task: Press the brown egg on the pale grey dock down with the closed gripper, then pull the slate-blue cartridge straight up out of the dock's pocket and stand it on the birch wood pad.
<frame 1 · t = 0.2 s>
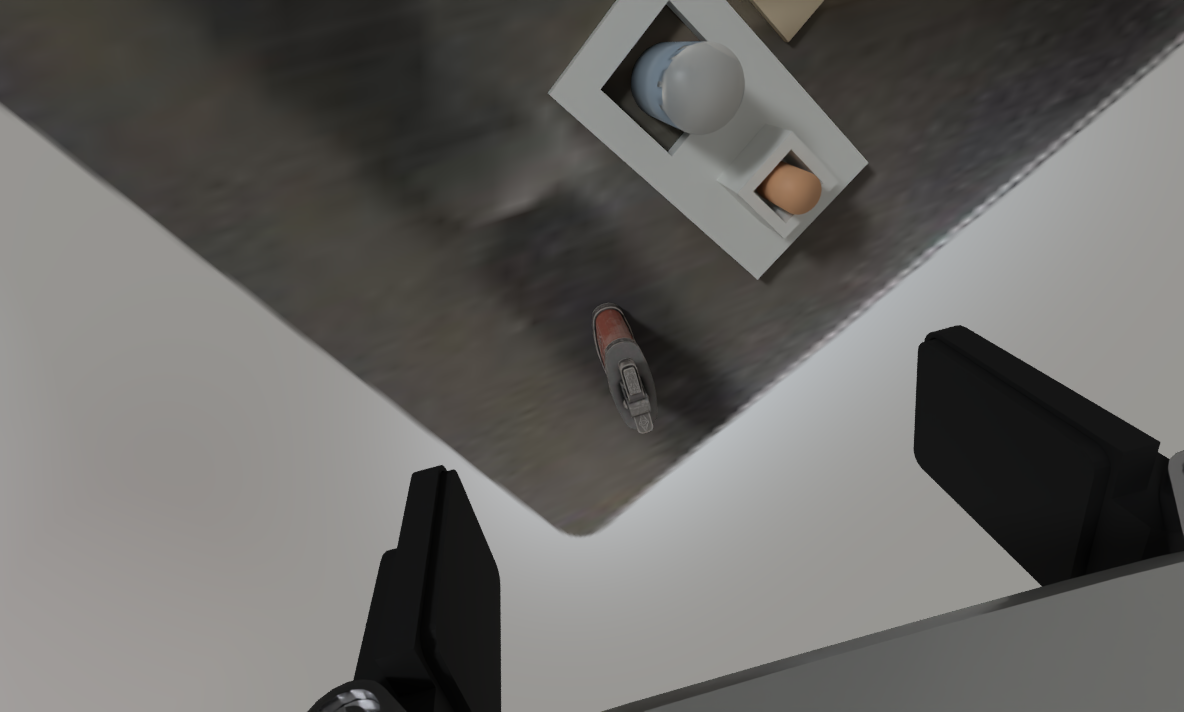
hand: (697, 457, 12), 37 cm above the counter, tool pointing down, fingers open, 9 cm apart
brown egg: (786, 186, 42), point 6 cm above the counter, slide at 0.0 cm
lighter: (614, 343, 52), on the counter
cartridge: (665, 81, 43), resting in dock
dock: (665, 81, 43), on the counter
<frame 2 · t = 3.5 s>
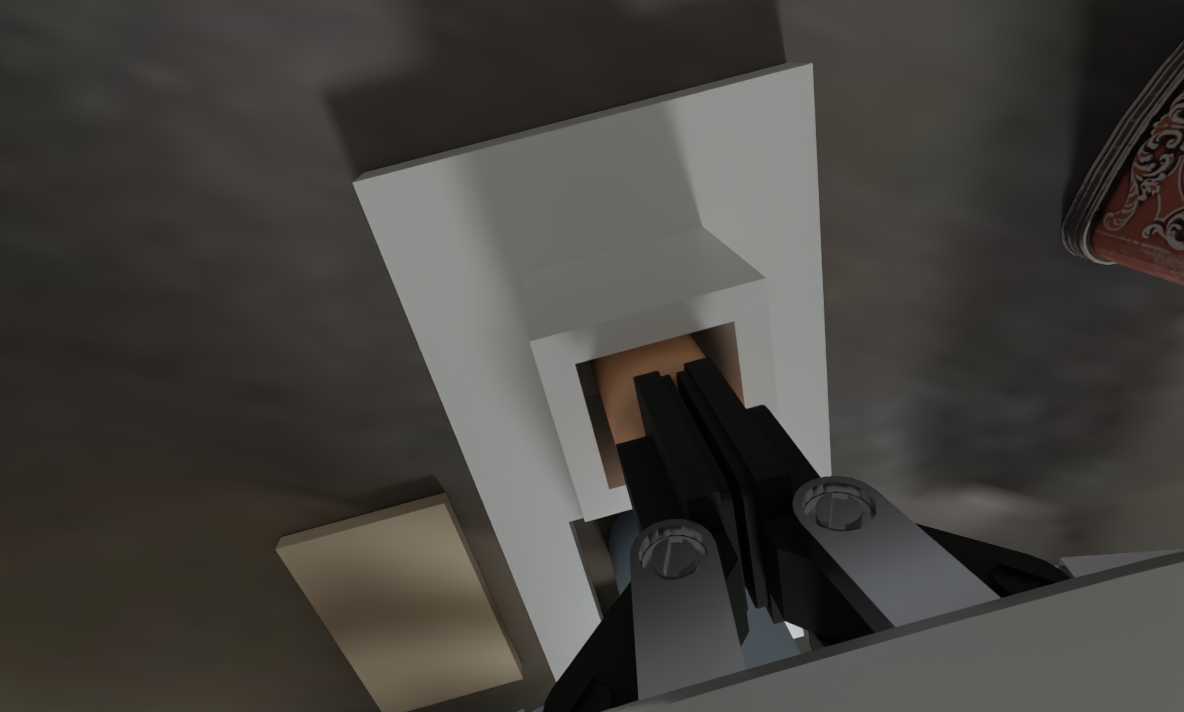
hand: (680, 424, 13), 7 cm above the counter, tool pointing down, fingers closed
brown egg: (655, 383, 15), point 5 cm above the counter, slide at 1.1 cm, touching gripper
lighter: (1150, 138, 19), on the counter
cartridge: (670, 536, 24), resting in dock
pad: (413, 608, 24), on the counter
dock: (670, 536, 24), on the counter
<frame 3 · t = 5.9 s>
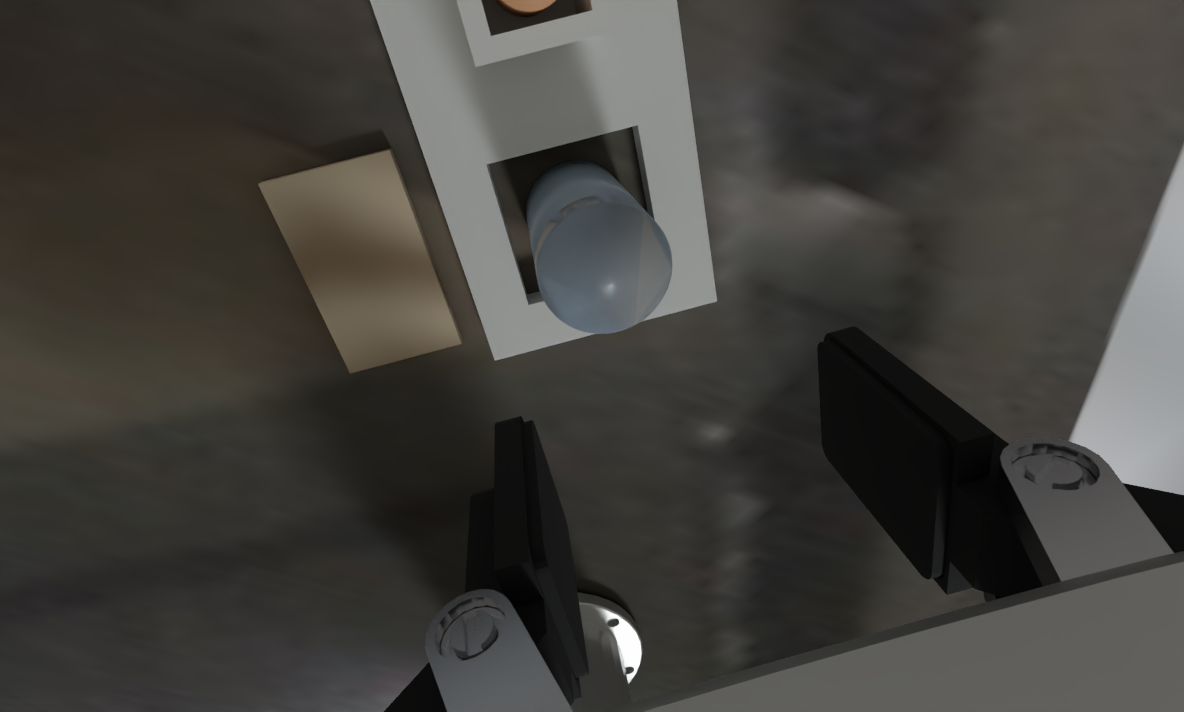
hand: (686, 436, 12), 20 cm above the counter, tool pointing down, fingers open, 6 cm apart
cartridge: (576, 212, 30), resting in dock
pad: (370, 266, 29), on the counter
dock: (576, 212, 30), on the counter
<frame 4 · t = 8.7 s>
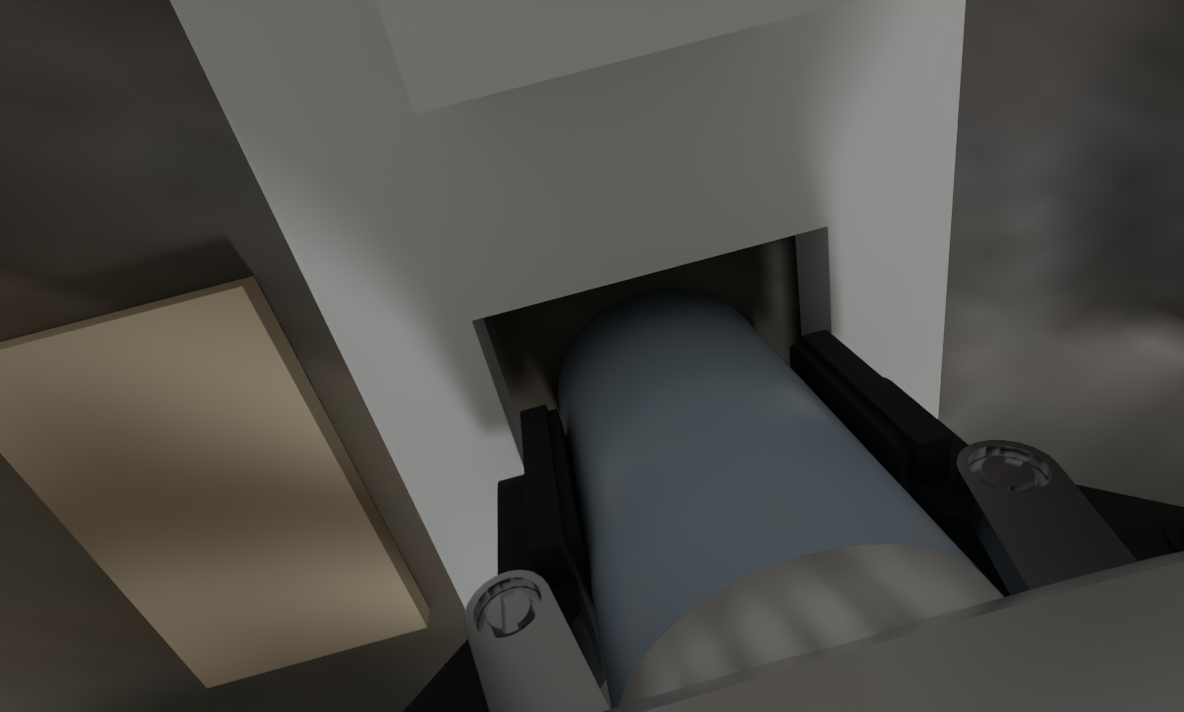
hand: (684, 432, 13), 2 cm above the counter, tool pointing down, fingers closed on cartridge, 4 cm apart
cartridge: (661, 386, 14), resting in dock, touching gripper
pad: (232, 503, 14), on the counter
dock: (661, 387, 14), on the counter
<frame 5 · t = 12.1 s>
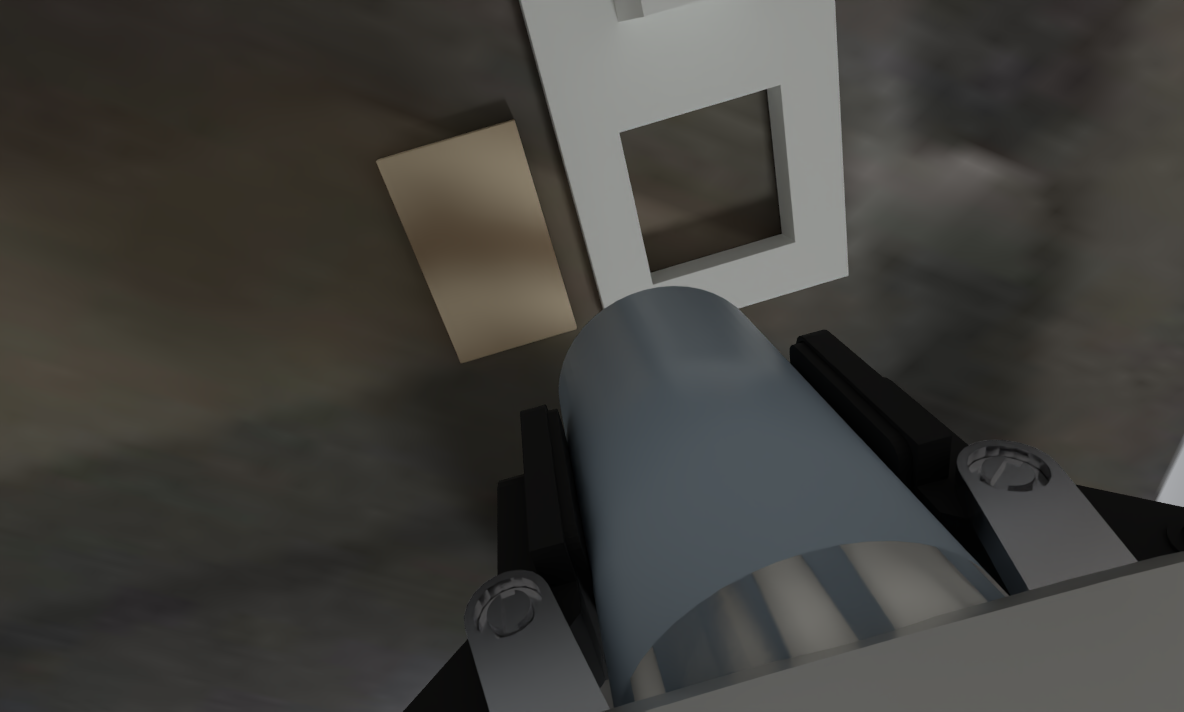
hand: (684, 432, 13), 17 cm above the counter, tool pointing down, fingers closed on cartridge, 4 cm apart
cartridge: (662, 384, 14), point 15 cm above the counter, touching gripper
pad: (485, 248, 28), on the counter
dock: (702, 184, 28), on the counter
when the fingers open (4 cm above the counter, at t = 15.5 s): cartridge drops 1 cm, resting on pad.
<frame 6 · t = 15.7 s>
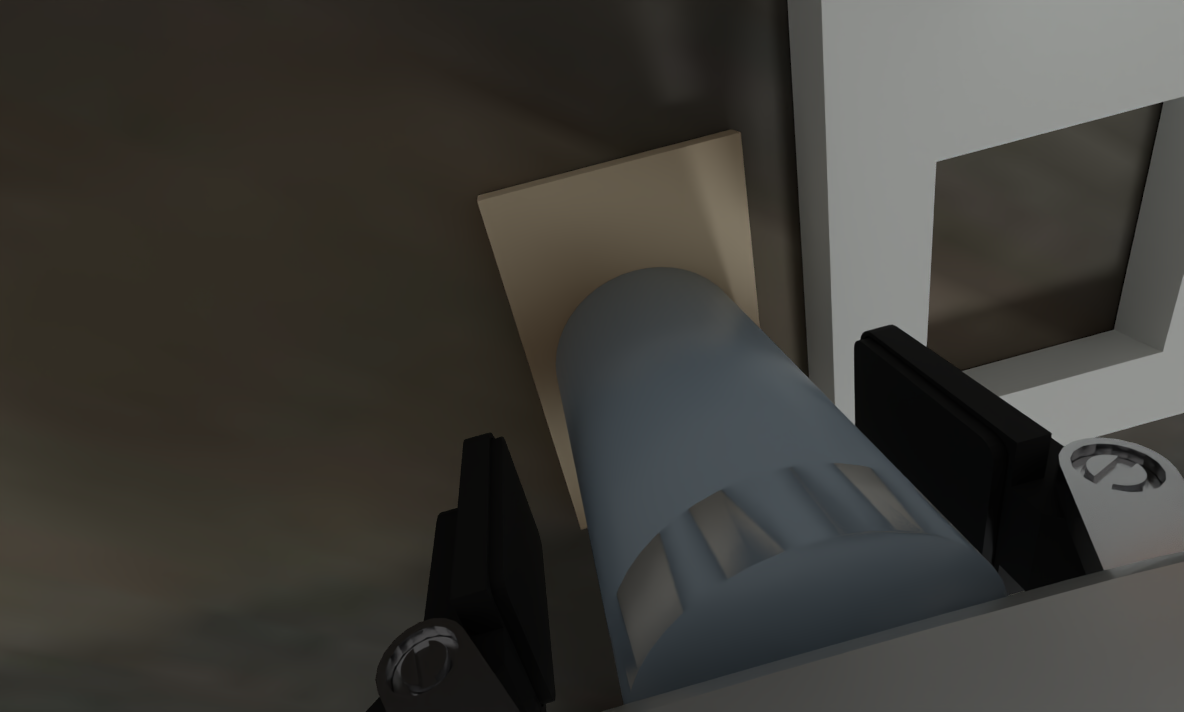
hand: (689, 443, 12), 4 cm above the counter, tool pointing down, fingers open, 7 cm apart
cartridge: (651, 359, 15), point 1 cm above the counter, touching pad
pad: (644, 350, 16), on the counter
dock: (1016, 250, 16), on the counter
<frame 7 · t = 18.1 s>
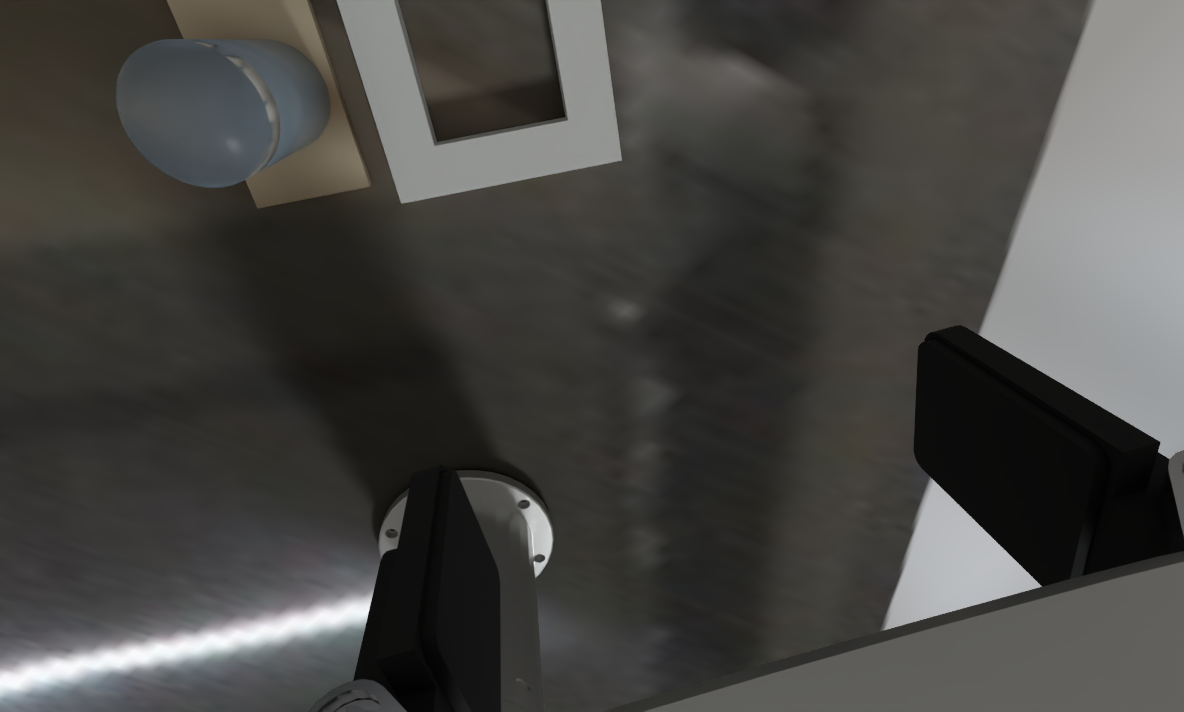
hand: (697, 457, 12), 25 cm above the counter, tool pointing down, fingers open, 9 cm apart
cartridge: (276, 96, 29), point 1 cm above the counter, touching pad
pad: (279, 96, 30), on the counter
dock: (485, 57, 30), on the counter
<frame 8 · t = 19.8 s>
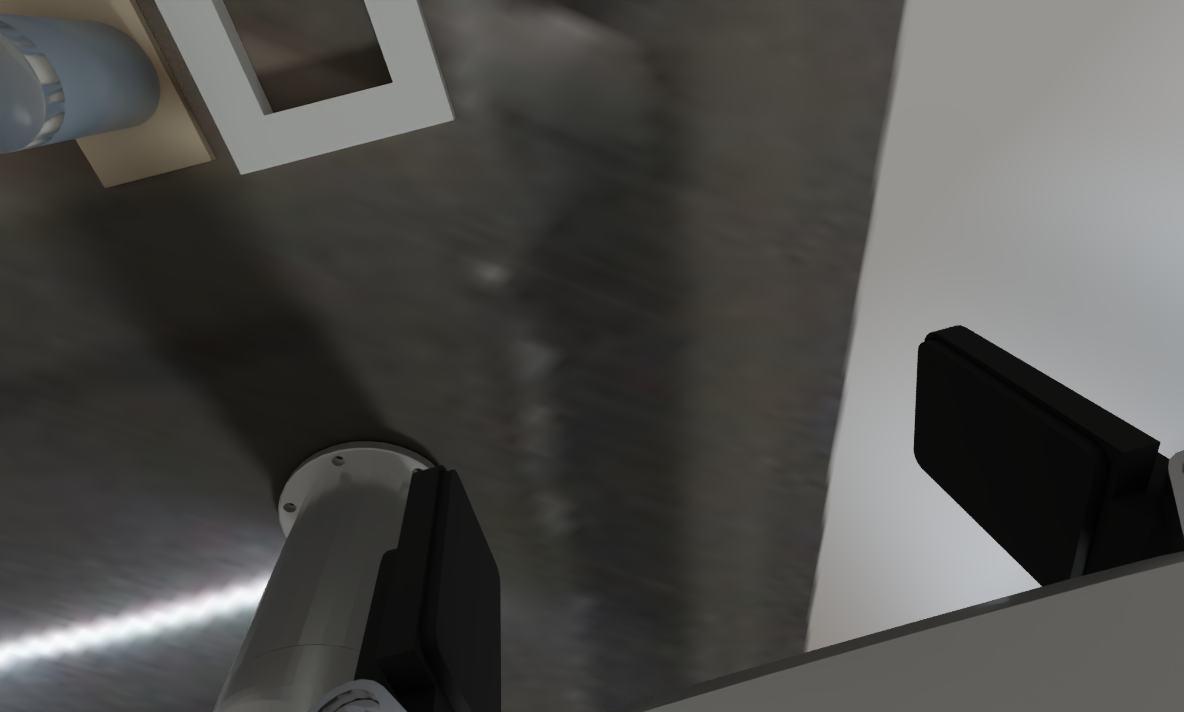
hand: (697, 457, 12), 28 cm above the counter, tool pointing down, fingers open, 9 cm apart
cartridge: (105, 76, 31), point 1 cm above the counter, touching pad
pad: (110, 76, 31), on the counter
dock: (307, 26, 31), on the counter
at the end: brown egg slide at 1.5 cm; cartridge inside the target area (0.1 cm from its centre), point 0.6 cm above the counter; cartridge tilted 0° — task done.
